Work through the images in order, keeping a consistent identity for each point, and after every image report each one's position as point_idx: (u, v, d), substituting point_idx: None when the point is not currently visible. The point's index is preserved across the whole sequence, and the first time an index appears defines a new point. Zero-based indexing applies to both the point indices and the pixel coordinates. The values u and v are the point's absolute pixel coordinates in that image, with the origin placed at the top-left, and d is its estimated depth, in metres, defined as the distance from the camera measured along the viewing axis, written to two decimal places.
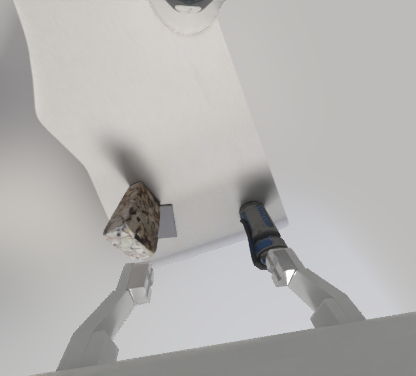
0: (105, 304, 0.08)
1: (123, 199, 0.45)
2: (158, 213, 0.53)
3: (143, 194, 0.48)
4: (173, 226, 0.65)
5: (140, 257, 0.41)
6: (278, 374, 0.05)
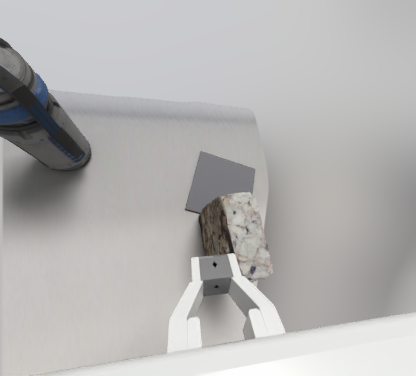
0: (188, 294, 0.08)
1: None
2: (203, 214, 0.38)
3: (208, 254, 0.35)
4: (197, 171, 0.46)
5: (244, 202, 0.24)
6: (278, 374, 0.05)
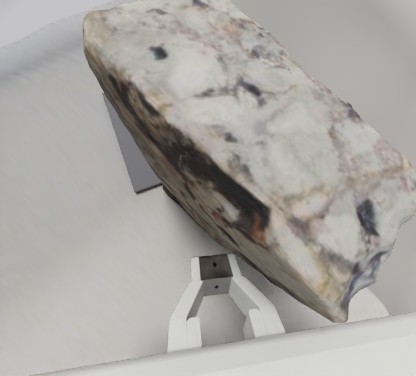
0: (188, 294, 0.08)
1: None
2: (159, 178, 0.19)
3: (210, 233, 0.18)
4: (117, 126, 0.26)
5: (176, 4, 0.06)
6: (278, 374, 0.05)
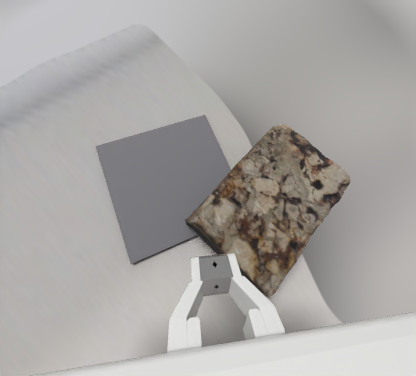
0: (188, 294, 0.08)
1: None
2: (221, 199, 0.19)
3: (280, 249, 0.18)
4: (112, 185, 0.23)
5: None
6: (278, 374, 0.05)
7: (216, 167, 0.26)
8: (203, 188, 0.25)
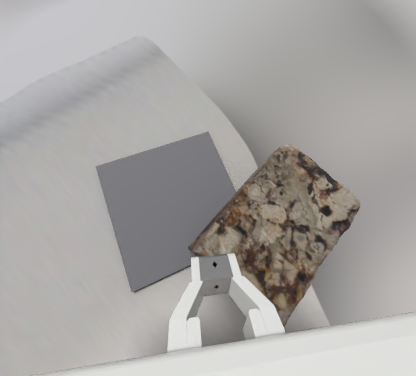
0: (188, 294, 0.08)
1: None
2: (226, 228, 0.19)
3: (288, 281, 0.18)
4: (112, 207, 0.22)
5: None
6: (278, 374, 0.05)
7: (220, 187, 0.25)
8: (206, 210, 0.24)
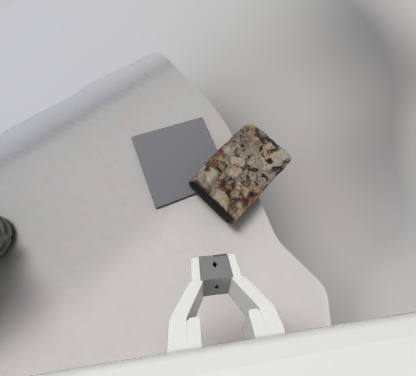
0: (188, 294, 0.08)
1: None
2: (210, 168, 0.33)
3: (243, 196, 0.32)
4: (142, 161, 0.37)
5: None
6: (278, 374, 0.05)
7: (209, 151, 0.39)
8: (200, 164, 0.38)
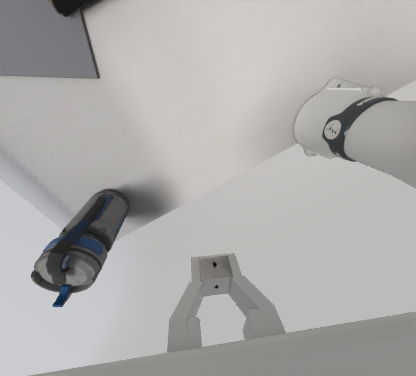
0: (188, 294, 0.08)
1: None
2: None
3: None
4: (32, 72, 0.31)
5: None
6: (278, 374, 0.05)
7: None
8: None
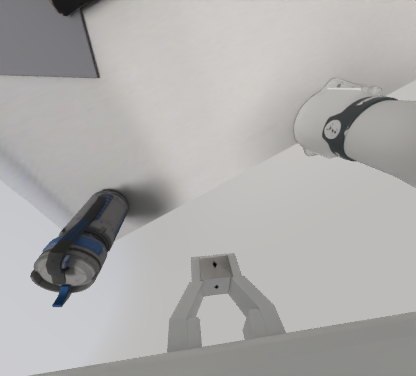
0: (188, 294, 0.08)
1: None
2: None
3: None
4: (32, 71, 0.31)
5: None
6: (278, 374, 0.05)
7: None
8: None
